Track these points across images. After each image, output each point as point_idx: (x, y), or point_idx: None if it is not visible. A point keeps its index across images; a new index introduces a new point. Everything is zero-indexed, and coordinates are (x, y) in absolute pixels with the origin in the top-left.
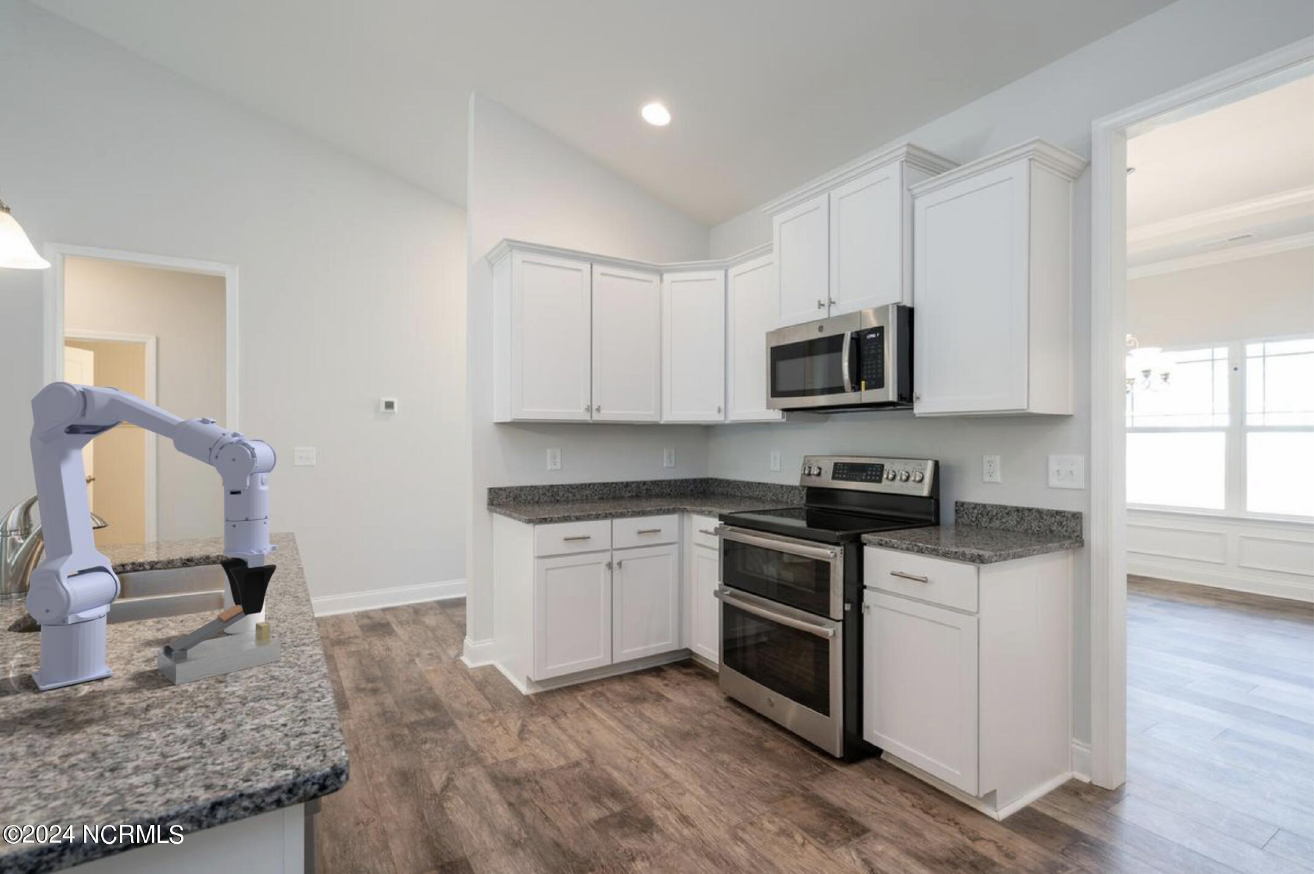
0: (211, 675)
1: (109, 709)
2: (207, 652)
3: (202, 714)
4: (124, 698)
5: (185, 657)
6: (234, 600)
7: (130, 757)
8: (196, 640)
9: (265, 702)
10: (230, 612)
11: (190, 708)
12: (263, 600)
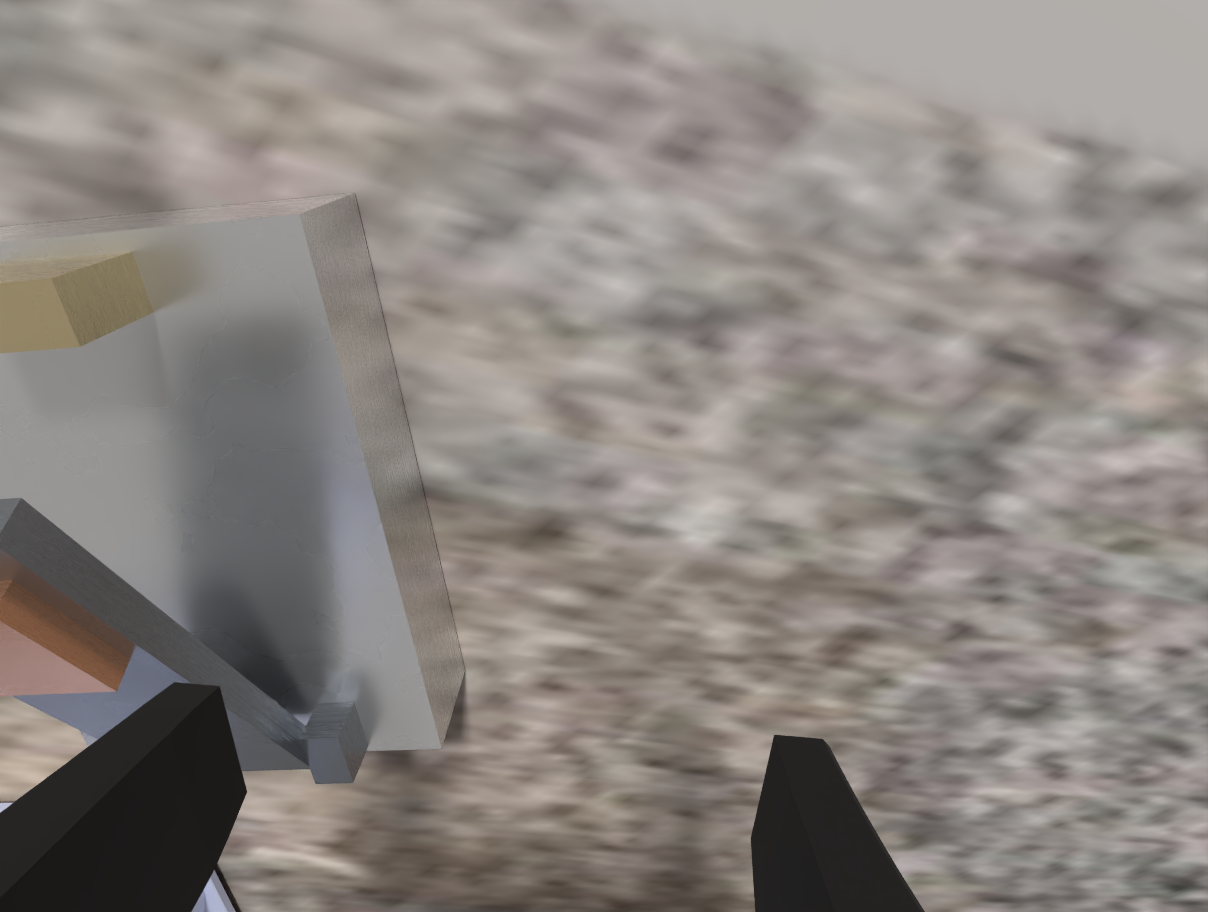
0: (437, 555)
1: (599, 838)
2: (290, 617)
3: (946, 664)
4: (504, 799)
5: (352, 712)
6: (220, 855)
7: (1135, 852)
8: (262, 727)
9: (1056, 456)
10: (15, 661)
11: (828, 680)
12: (887, 859)
